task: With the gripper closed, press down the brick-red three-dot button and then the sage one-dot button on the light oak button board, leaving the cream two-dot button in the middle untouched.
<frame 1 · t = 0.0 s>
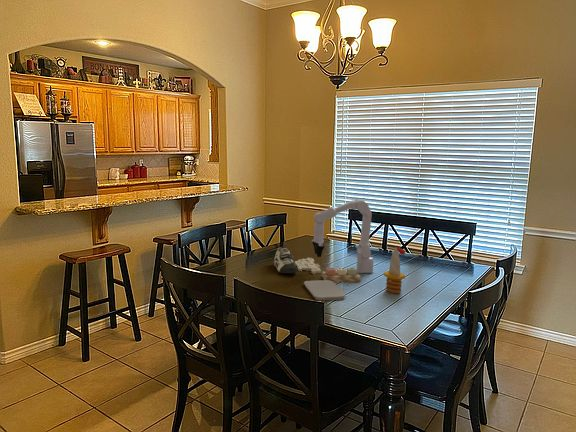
hand: (317, 255, 262), 10 cm above the table, fingers open, 7 cm apart
toy: (393, 291, 231), on the table
button 1: (351, 271, 250), point 5 cm above the table, slide at 0.0 cm
button board: (340, 279, 250), on the table
button 3: (330, 271, 249), point 5 cm above the table, slide at 0.0 cm
decorative sign: (306, 267, 273), on the table
button 2: (341, 271, 249), point 5 cm above the table, slide at 0.0 cm
training shoe: (283, 270, 265), on the table
tablet: (323, 292, 228), on the table
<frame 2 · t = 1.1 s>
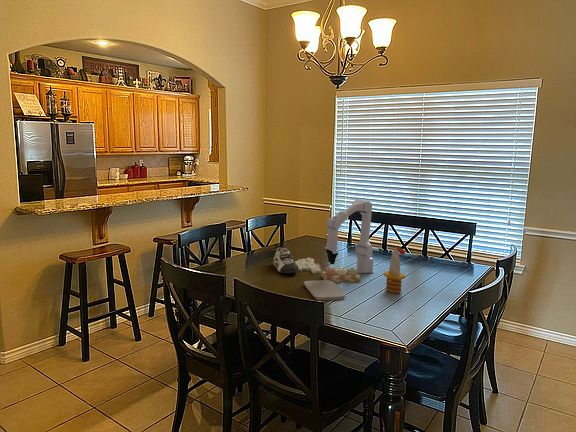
hand: (331, 263, 248), 9 cm above the table, fingers open, 4 cm apart
nothing on the table moved.
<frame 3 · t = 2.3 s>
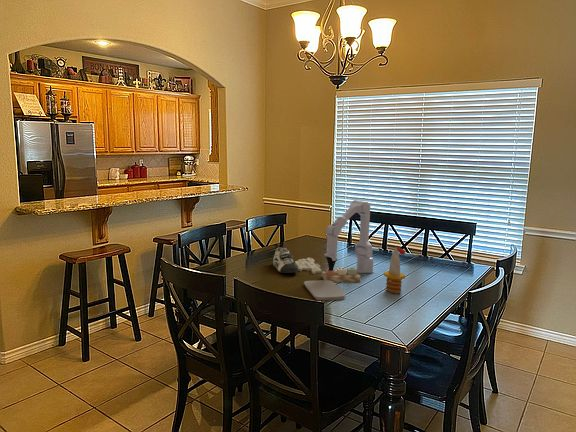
hand: (330, 269, 248), 5 cm above the table, fingers closed, pressing on button 3
button 3: (330, 272, 249), point 4 cm above the table, slide at 0.9 cm, touching gripper
everything else where it was.
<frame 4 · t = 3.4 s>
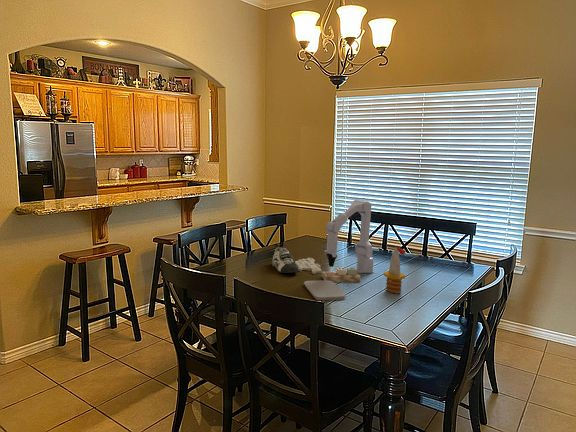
hand: (331, 266, 248), 7 cm above the table, fingers closed
button 3: (330, 275, 249), point 2 cm above the table, slide at 2.5 cm
everything else where it was.
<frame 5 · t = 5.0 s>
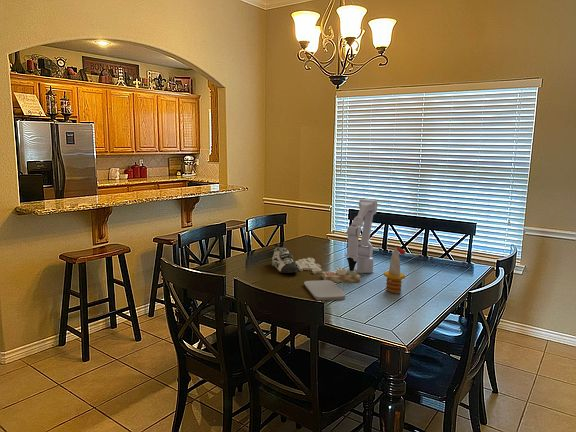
hand: (351, 270, 250), 5 cm above the table, fingers closed, pressing on button 1
button 1: (351, 273, 250), point 4 cm above the table, slide at 1.1 cm, touching gripper
everything else where it was.
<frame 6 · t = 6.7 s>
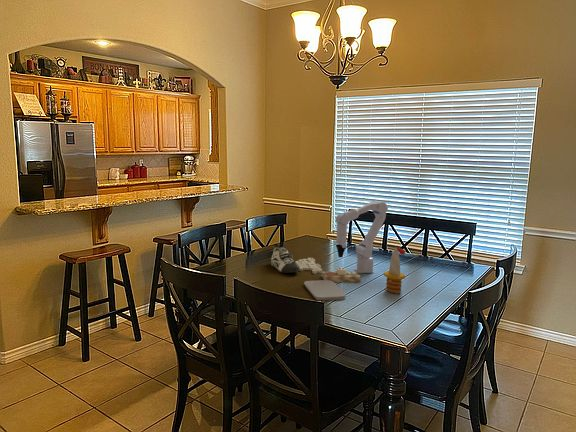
hand: (340, 257, 259), 10 cm above the table, fingers closed
button 1: (351, 275, 250), point 2 cm above the table, slide at 2.5 cm
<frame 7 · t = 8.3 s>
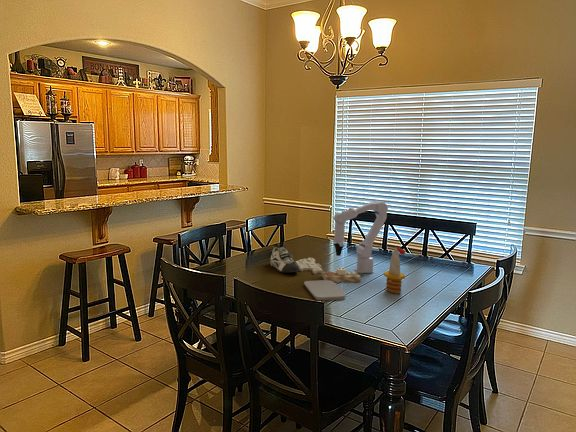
hand: (338, 255, 261), 10 cm above the table, fingers closed
at the end: button 3 slide at 2.5 cm; button 1 slide at 2.5 cm; button 2 slide at 0.0 cm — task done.
